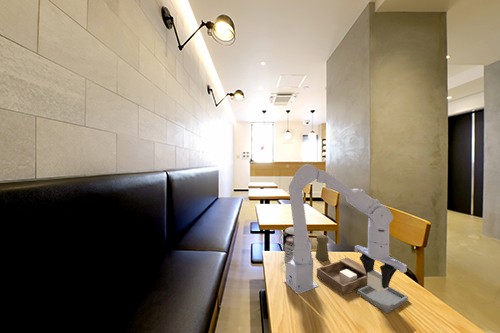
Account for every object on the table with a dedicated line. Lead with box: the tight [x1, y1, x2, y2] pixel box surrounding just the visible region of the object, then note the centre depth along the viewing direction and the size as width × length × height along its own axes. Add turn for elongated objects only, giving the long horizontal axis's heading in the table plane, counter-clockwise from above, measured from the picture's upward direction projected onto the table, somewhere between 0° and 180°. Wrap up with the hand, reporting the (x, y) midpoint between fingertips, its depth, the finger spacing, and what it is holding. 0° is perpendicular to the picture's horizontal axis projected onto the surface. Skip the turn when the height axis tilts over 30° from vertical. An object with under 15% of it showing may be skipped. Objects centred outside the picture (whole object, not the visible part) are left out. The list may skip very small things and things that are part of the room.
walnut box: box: [316, 257, 367, 296], centre depth 69 cm, size 18×12×4 cm, turn 116°
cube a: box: [366, 269, 388, 292], centre depth 58 cm, size 4×4×4 cm
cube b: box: [340, 269, 357, 285], centre depth 66 cm, size 4×4×4 cm
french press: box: [278, 226, 295, 264], centre depth 83 cm, size 10×12×25 cm
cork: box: [314, 234, 330, 263], centre depth 85 cm, size 6×6×11 cm
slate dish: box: [357, 285, 409, 314], centre depth 60 cm, size 12×9×2 cm
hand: (377, 282), depth 58 cm, fingers closed on cube a, 4 cm apart
